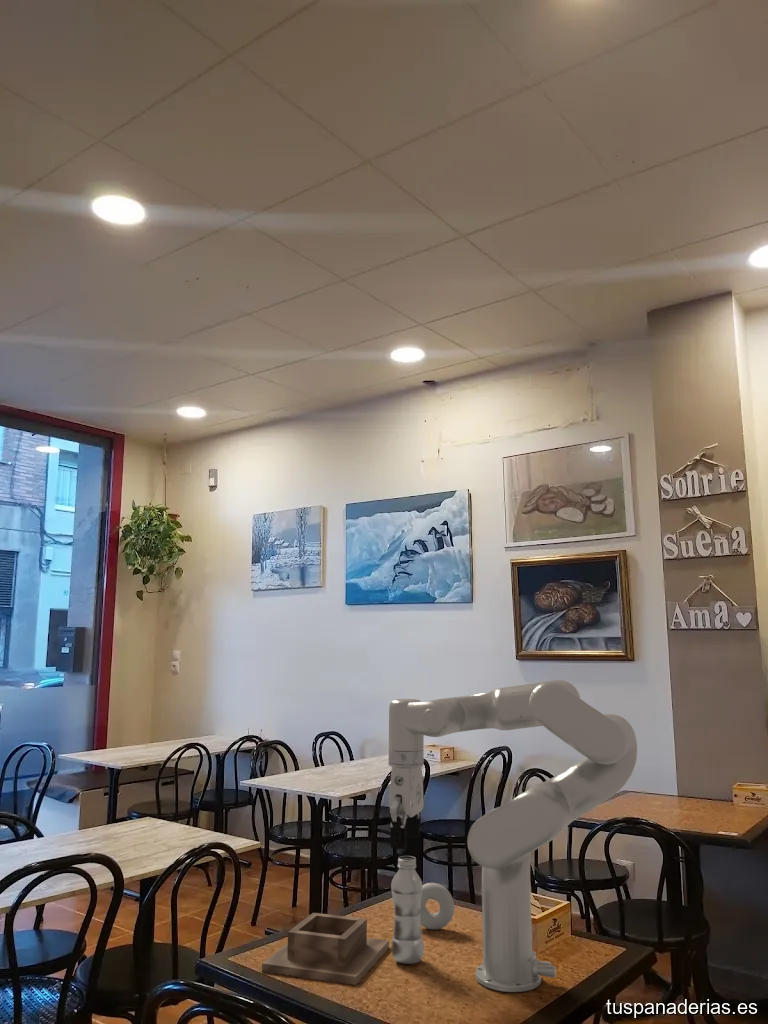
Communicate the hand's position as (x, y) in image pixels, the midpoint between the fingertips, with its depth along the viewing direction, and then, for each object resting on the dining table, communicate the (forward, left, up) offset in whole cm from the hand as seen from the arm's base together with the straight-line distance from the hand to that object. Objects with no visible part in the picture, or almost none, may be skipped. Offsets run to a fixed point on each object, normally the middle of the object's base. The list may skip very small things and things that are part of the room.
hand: (405, 842), depth 162 cm
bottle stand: (+16, +4, -23) cm, 28 cm away
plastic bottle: (0, 0, -23) cm, 23 cm away
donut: (0, -20, -23) cm, 31 cm away
